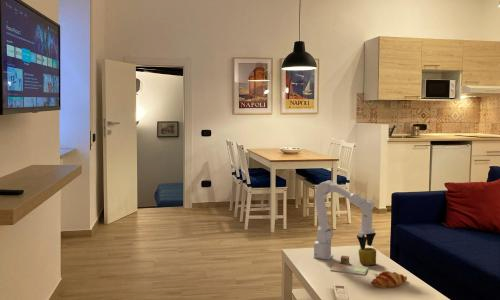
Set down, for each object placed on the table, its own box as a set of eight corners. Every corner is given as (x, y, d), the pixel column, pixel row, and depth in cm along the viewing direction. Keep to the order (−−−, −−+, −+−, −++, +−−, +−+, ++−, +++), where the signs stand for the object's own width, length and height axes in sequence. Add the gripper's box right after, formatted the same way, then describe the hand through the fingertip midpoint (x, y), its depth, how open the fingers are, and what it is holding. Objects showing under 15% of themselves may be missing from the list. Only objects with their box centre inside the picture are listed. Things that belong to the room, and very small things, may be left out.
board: (330, 270, 245) (330, 269, 245) (334, 264, 255) (334, 262, 255) (365, 275, 238) (365, 273, 238) (368, 268, 249) (368, 267, 248)
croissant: (402, 285, 234) (397, 269, 237) (415, 283, 226) (410, 266, 228) (367, 292, 225) (363, 275, 228) (380, 289, 217) (376, 271, 220)
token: (340, 264, 255) (340, 257, 254) (341, 262, 258) (342, 255, 258) (347, 265, 253) (347, 258, 253) (349, 263, 257) (349, 256, 257)
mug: (381, 263, 250) (375, 245, 252) (363, 269, 251) (357, 251, 252) (377, 260, 263) (371, 243, 264) (360, 265, 263) (354, 248, 264)
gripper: (367, 226, 244) (366, 251, 245) (379, 221, 255) (379, 245, 256) (355, 224, 249) (354, 249, 250) (368, 219, 259) (367, 243, 261)
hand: (366, 247), depth 253 cm, fingers open, 7 cm apart
